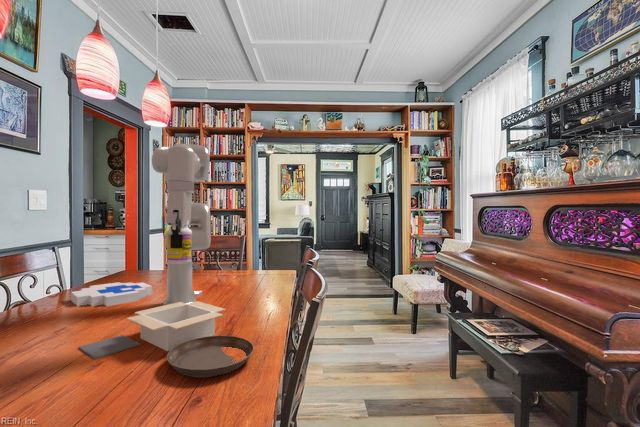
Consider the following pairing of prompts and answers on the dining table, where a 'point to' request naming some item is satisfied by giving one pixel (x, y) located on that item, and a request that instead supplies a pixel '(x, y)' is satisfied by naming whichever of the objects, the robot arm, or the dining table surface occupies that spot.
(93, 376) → the dining table surface
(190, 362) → the plant saucer
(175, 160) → the robot arm
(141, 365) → the dining table surface
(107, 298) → the pixel art tile
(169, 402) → the dining table surface
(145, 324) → the carton
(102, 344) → the coaster mat
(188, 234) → the supplement bottle
